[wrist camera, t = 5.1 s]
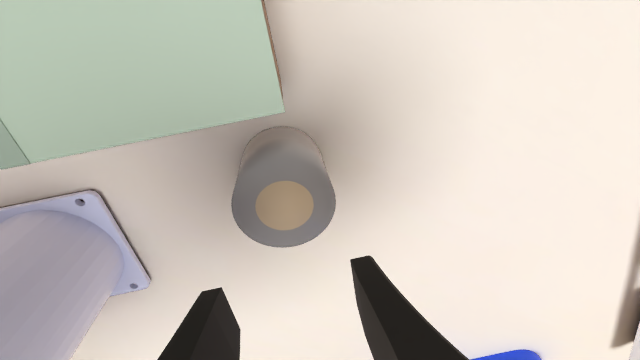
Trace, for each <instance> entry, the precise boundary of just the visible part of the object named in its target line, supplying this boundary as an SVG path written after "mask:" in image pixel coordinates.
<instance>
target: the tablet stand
mask: <svg viewBox="0 0 640 360" xmlns="http://www.w3.org/2000/svg"><path fill="white" fill-rule="evenodd" d="M629 360H640V323H639V326H638V329H637V333H636V336H635V340H634V343H633V346H632V350H631V353H630V357H629Z"/></svg>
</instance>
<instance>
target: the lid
mask: <svg viewBox="0 0 640 360" xmlns="http://www.w3.org/2000/svg"><path fill="white" fill-rule="evenodd" d="M284 112H285V109H284V104H283V100H282V95H281V91H280V86H279V81H278V77H277V72H276V68H275V63H274V58H273V54H272V49H271V45H270V40H269V35H268V31H267V26H266V22H265V17H264V12H263V8H262V3H261V0H0V169H1V170H3V169H8V168H13V167H17V166H22V165H27V164H31V163H36V162H41V161H46V160H50V159H55V158H60V157H65V156H70V155H75V154H80V153H85V152H90V151H95V150H100V149H105V148H110V147H115V146H120V145H125V144H130V143H135V142H140V141H145V140H150V139H155V138H160V137H165V136H170V135H175V134H180V133H185V132H189V131H194V130H199V129H204V128H209V127H214V126H219V125H224V124H229V123H234V122H239V121H244V120H249V119H254V118H259V117H264V116H269V115H274V114H279V113H284Z"/></svg>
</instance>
